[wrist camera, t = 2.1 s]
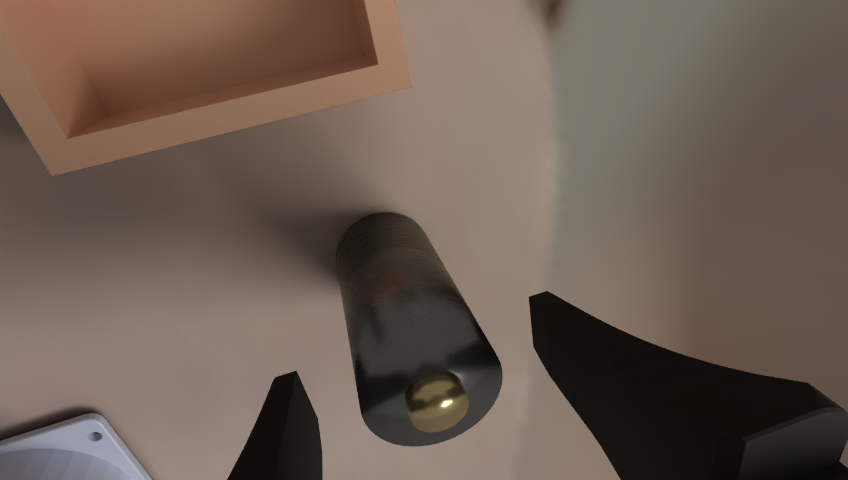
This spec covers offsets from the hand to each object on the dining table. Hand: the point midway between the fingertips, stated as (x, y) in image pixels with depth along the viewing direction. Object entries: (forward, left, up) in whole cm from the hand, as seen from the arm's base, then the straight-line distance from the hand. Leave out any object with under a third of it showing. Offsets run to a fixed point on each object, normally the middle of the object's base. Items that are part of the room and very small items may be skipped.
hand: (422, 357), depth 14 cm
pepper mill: (0, 0, -7) cm, 7 cm away
